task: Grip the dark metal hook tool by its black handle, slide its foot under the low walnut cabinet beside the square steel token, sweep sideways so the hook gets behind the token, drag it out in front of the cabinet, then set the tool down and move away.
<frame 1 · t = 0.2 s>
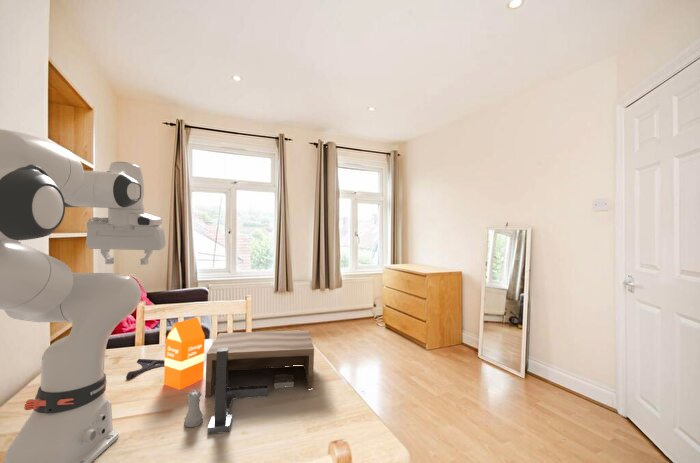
hand: (127, 264, 97), 39 cm above the table, tool pointing down, fingers open, 8 cm apart
low cabinet: (262, 379, 109), on the table
steel token: (283, 384, 107), on the table
orange juice: (184, 382, 106), on the table
hook tool: (220, 427, 82), on the table
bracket: (143, 372, 113), on the table
rook chess piece: (193, 423, 83), on the table
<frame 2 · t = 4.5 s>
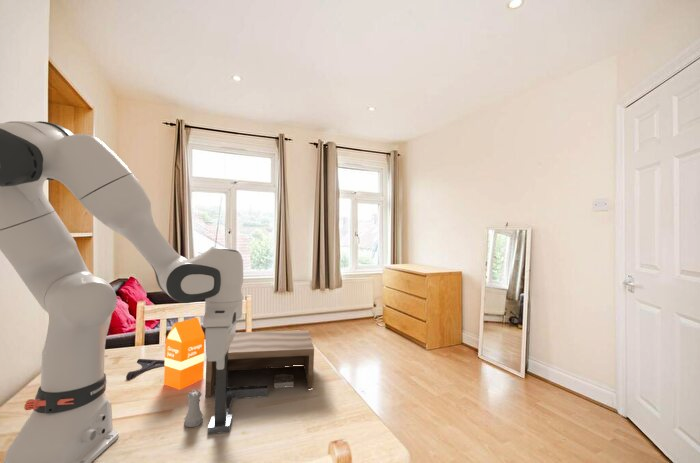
hand: (222, 365, 82), 16 cm above the table, tool pointing down, fingers closed on hook tool, 2 cm apart
hook tool: (220, 427, 82), on the table, touching gripper
everything else where it was.
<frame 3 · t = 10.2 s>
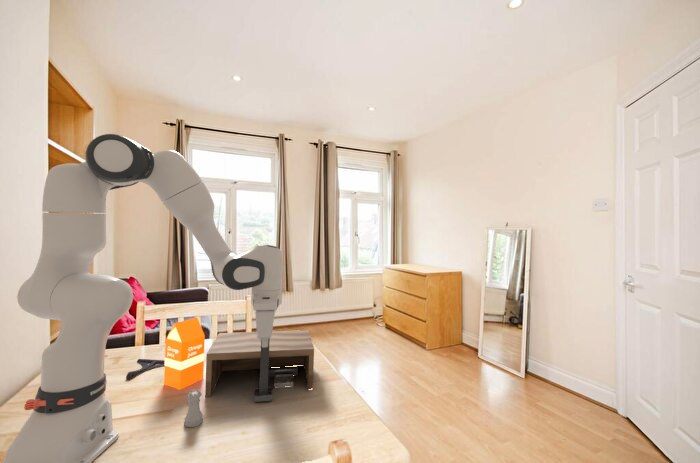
hand: (265, 344, 97), 16 cm above the table, tool pointing down, fingers closed on hook tool, 2 cm apart
hook tool: (263, 397, 96), point 1 cm above the table, touching gripper
everything else where it was.
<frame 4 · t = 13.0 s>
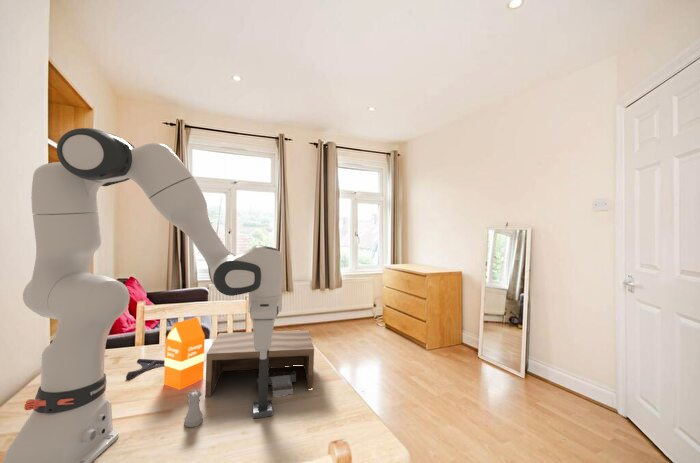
hand: (263, 355, 88), 16 cm above the table, tool pointing down, fingers closed on hook tool, 3 cm apart
steel token: (282, 391, 101), on the table
hook tool: (262, 411, 89), on the table, touching gripper
everything else where it was.
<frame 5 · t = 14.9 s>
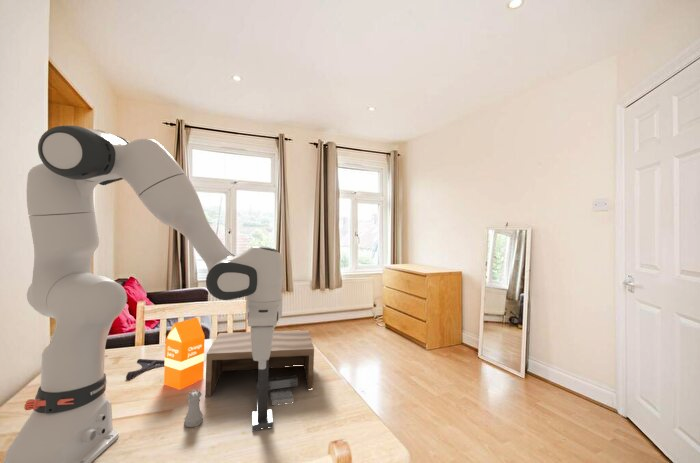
hand: (262, 364, 82), 16 cm above the table, tool pointing down, fingers closed on hook tool, 3 cm apart
steel token: (281, 401, 96), on the table
hook tool: (262, 422, 84), on the table, tilted 7°, touching gripper
everything else where it was.
when the fingers open (16 cm above the table, at t = 16.3 s): hook tool stays where it is, on the table.
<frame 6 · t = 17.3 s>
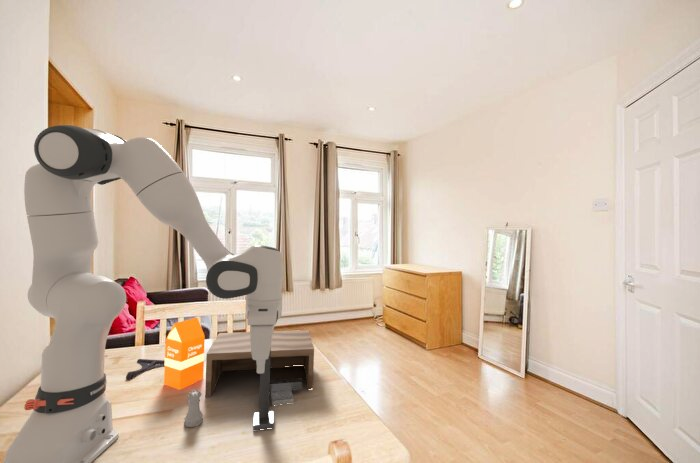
hand: (261, 364, 81), 16 cm above the table, tool pointing down, fingers open, 8 cm apart
hook tool: (263, 423, 83), on the table, tilted 5°
everything else where it was.
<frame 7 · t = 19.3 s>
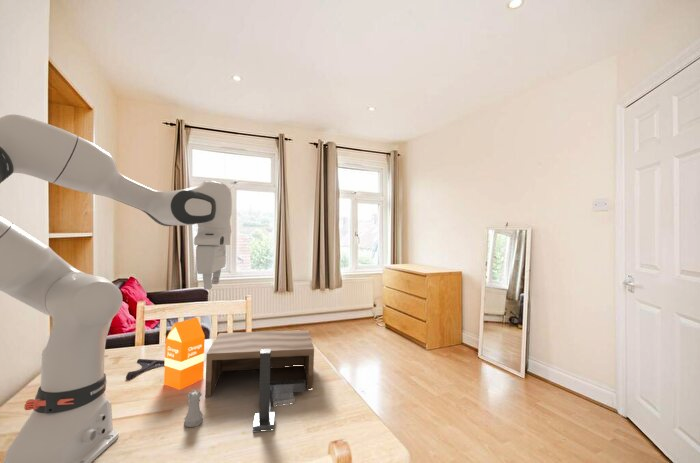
hand: (211, 286, 93), 34 cm above the table, tool pointing down, fingers open, 8 cm apart
steel token: (282, 401, 96), on the table, touching hook tool
hook tool: (264, 424, 83), on the table, touching steel token
everything else where it was.
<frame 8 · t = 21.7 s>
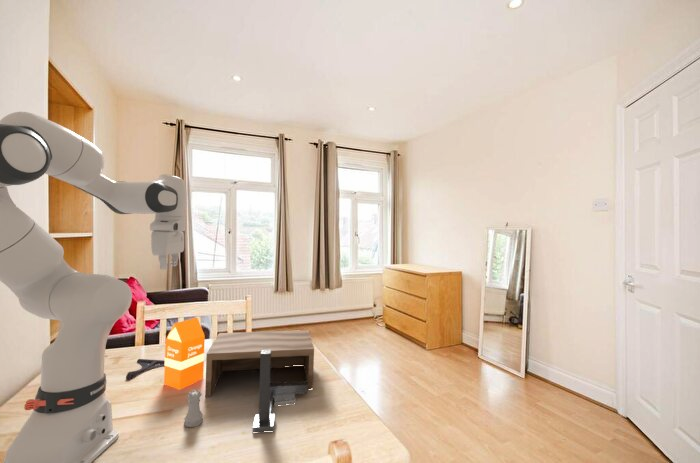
hand: (169, 267, 106), 37 cm above the table, tool pointing down, fingers open, 8 cm apart
steel token: (284, 402, 96), on the table
hook tool: (264, 426, 82), on the table
everything else where it was.
at the end: steel token inside the target area (3.8 cm from its centre), on the table; steel token moved 11.2 cm from its start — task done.
